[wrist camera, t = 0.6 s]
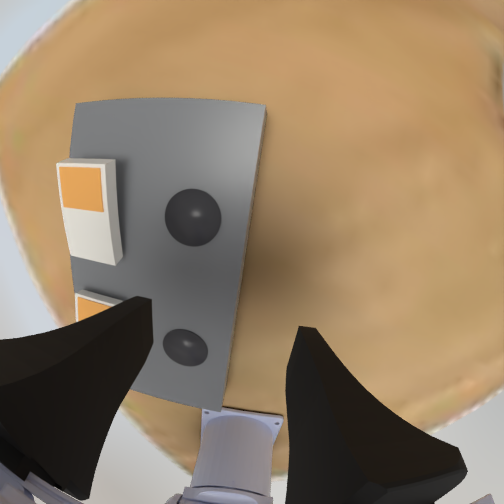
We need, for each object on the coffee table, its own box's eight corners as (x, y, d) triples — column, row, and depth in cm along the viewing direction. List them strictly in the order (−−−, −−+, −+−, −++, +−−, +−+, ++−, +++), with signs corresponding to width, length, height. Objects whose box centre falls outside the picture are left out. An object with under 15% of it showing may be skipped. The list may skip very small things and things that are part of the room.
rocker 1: (123, 256, 16) (114, 266, 15) (79, 247, 16) (69, 256, 15) (115, 159, 13) (103, 164, 12) (67, 158, 13) (55, 163, 12)
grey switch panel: (226, 387, 23) (220, 413, 20) (106, 356, 23) (91, 376, 20) (267, 114, 16) (265, 104, 13) (100, 108, 16) (74, 103, 13)
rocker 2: (126, 375, 18) (119, 383, 16) (87, 361, 18) (79, 367, 16) (125, 301, 17) (117, 306, 16) (83, 289, 17) (74, 293, 16)
